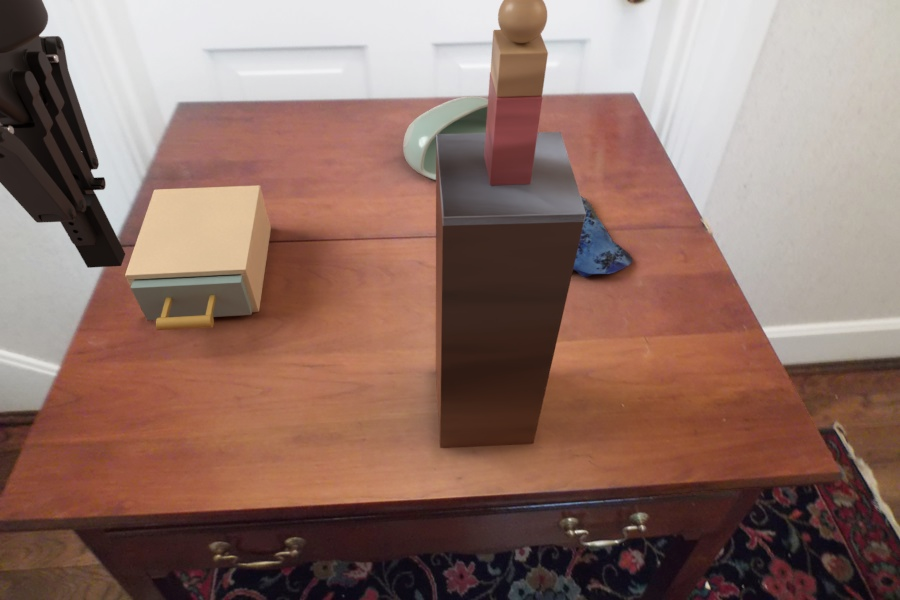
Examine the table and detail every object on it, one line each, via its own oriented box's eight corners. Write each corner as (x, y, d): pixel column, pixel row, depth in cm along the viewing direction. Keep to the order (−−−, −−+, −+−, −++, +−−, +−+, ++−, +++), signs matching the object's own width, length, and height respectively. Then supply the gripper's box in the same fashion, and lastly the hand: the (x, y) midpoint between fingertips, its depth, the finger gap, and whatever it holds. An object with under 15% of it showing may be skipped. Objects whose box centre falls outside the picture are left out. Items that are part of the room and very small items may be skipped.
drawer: (247, 344, 76) (235, 311, 71) (138, 350, 75) (120, 318, 71) (263, 234, 88) (255, 201, 84) (171, 239, 88) (157, 205, 83)
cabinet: (259, 312, 80) (245, 269, 75) (146, 318, 79) (124, 275, 74) (271, 228, 91) (260, 185, 85) (171, 232, 90) (154, 189, 84)
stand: (533, 443, 69) (586, 213, 45) (440, 448, 68) (442, 217, 44) (521, 367, 75) (560, 131, 52) (435, 370, 75) (435, 134, 51)
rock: (575, 192, 97) (577, 182, 95) (644, 266, 87) (648, 256, 85) (489, 220, 93) (490, 210, 91) (551, 302, 83) (553, 292, 81)
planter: (466, 69, 107) (540, 108, 99) (464, 108, 112) (535, 148, 104) (377, 111, 98) (452, 158, 90) (380, 151, 103) (451, 199, 95)
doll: (530, 184, 47) (555, 4, 37) (489, 185, 47) (504, 5, 37) (522, 155, 49) (544, -21, 40) (484, 157, 49) (496, -20, 39)
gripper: (-69, -74, 41) (83, 212, 59) (-184, 20, 32) (34, 322, 50) (54, -75, 41) (167, 208, 59) (-27, 17, 33) (134, 316, 50)
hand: (106, 260), depth 54 cm, fingers closed
